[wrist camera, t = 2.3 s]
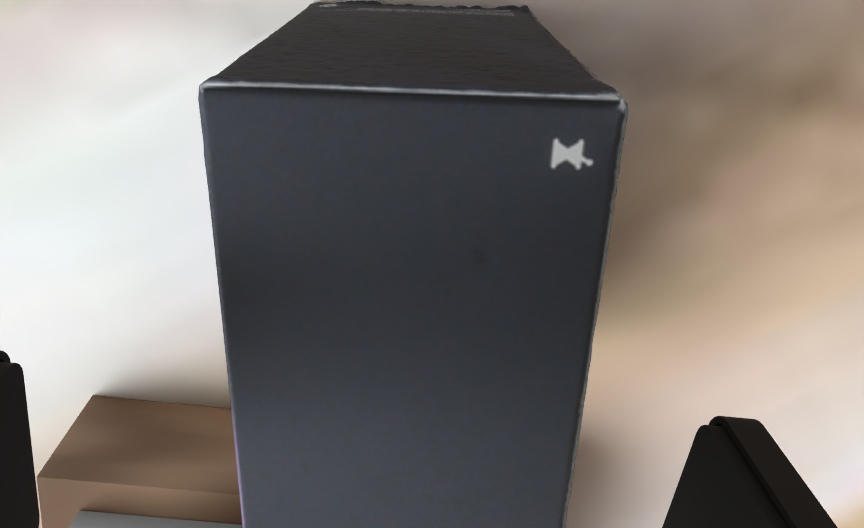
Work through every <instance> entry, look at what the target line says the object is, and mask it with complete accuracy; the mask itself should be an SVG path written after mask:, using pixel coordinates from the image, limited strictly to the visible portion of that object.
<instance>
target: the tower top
mask: <svg viewBox="0 0 864 528" xmlns="http://www.w3.org/2000/svg"><path fill="white" fill-rule="evenodd" d="M69 528H243V526H242V525H238V524H226V523H215V522H204V521H192V520H181V519H170V518H159V517H147V516H136V515H125V514H114V513H102V512H91V511H80V510H79V511H78V513H77V515H76V517H75V518H74V520H73V522H72V524H71V525H70V527H69Z"/></svg>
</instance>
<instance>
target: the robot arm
mask: <svg viewBox="0 0 864 528" xmlns="http://www.w3.org/2000/svg"><path fill="white" fill-rule="evenodd" d="M0 528H39V508H38V499H37V490H36V481H35V472H34V464H33V455H32V446H31V437H30V428H29V419H28V411H27V402H26V393H25V384H24V375H23V370H22V368H21V366H20V365H19V364H17V363H11V362H10V358H9V356H8V355H7V353H5V352H4V351H0ZM662 528H837V526H836V525H835V524H834V522H833V521H832V519H831V518H830V517H829V515H828V514H827V512H826V511H825V510H824V508H823V507H822V506H821V504H820V503H819V501H818V500H817V499H816V497H815V496H814V495H813V493H812V492H811V490H810V489H809V488H808V486H807V485H806V484H805V482H804V481H803V479H802V478H801V477H800V475H799V474H798V473H797V471H796V470H795V468H794V467H793V466H792V464H791V463H790V461H789V460H788V459H787V457H786V456H785V455H784V453H783V452H782V450H781V449H780V448H779V446H778V445H777V444H776V442H775V441H774V439H773V438H772V437H771V435H770V434H769V433H768V431H767V430H766V428H765V427H764V426H763V425H762V424H761V423H760V422H759V421H758V420H755V419H747V418H736V417H725V416H717V417H714V418H713V419H712V420H711V421H710V423H709V425H703V426H701V427H700V428H699V429H698V431H697V433H696V436H695V438H694V441H693V444H692V447H691V450H690V452H689V455H688V458H687V461H686V463H685V466H684V469H683V472H682V475H681V477H680V480H679V483H678V486H677V488H676V491H675V494H674V497H673V499H672V502H671V505H670V508H669V511H668V513H667V516H666V519H665V522H664V524H663V527H662Z"/></svg>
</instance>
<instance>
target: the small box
mask: <svg viewBox="0 0 864 528" xmlns="http://www.w3.org/2000/svg"><path fill="white" fill-rule="evenodd" d="M198 100H199V108H200V116H201V125H202V133H203V141H204V157H205V166H206V174H207V182H208V191H209V200H210V210H211V219H212V228H213V237H214V247H215V256H216V266H217V276H218V285H219V295H220V304H221V314H222V323H223V333H224V343H225V352H226V362H227V372H228V382H229V392H230V402H231V412H232V422H233V432H234V443H235V453H236V463H237V473H238V483H239V493H240V504H241V514H242V526H243V528H565V525H566V517H567V508H568V502H569V498H570V492H571V485H572V478H573V471H574V465H575V457H576V451H577V446H578V440H579V434H580V428H581V422H582V415H583V407H584V400H585V394H586V388H587V380H588V372H589V367H590V361H591V352H592V342H593V335H594V330H595V325H596V319H597V314H598V308H599V302H600V294H601V286H602V279H603V274H604V268H605V262H606V256H607V250H608V243H609V235H610V228H611V221H612V215H613V208H614V199H615V195H616V191H617V178H618V174H619V167H620V158H621V152H622V145H623V139H624V134H625V127H626V121H627V114H628V105H627V103H626V102H625V101H624V100H623V99H622V97H621V96H620V94H619V93H618V92H617V91H616V90H615V89H614V88H612V87H610V86H608V85H606V84H604V83H602V82H601V81H599V80H598V79H597V77H596V76H595V75H594V74H592V73H591V72H590V71H589V70H588V68H586V67H585V66H584V65H583V64H582V63H580V62H579V61H578V59H577V58H576V57H575V56H573V55H572V54H571V53H570V51H569V50H567V49H566V48H565V47H563V46H562V45H561V44H560V43H559V42H558V41H557V40H556V39H555V38H554V37H553V36H552V35H551V34H550V33H549V32H548V31H547V30H546V29H545V28H544V27H543V26H542V25H541V24H540V22H539V21H538V20H537V18H536V17H535V16H534V14H533V13H532V12H531V11H530V10H529V8H528V6H526V5H525V6H522V7H520V8H519V7H516V6H504V7H497V8H493V9H485V8H482V7H480V6H473V7H471V8H468V7H466V6H457V7H449V8H445V7H443V6H436V7H430V6H415V5H412V4H406V5H392V4H388V5H383V4H381V3H379V2H377V1H368V2H366V1H357V2H353V1H349V2H337V3H313V4H310V5H309V6H308V7H307V8H306V9H305V10H304V11H302V12H301V13H300V14H298V15H297V16H296V17H294V18H293V19H292V20H291V21H289V22H288V23H286V24H285V25H284V26H282V27H281V28H280V29H278V30H277V31H275V32H274V33H273V34H271V35H270V36H269V37H268V38H266V39H265V40H263V41H262V42H260V43H259V44H258V45H256V46H255V47H254V48H252V49H250V50H249V51H248V52H246V53H245V54H243V55H242V56H240V57H239V58H238V59H237V60H236V61H235V62H233V63H232V64H231V65H229V66H228V67H227V68H225V69H224V70H223V71H221V72H220V73H219V74H218V75H216V76H213V77H210V78H209V79H207V80H206V81H204V82H203V83H202V84H200V86H199V98H198Z"/></svg>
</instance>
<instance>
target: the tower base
mask: <svg viewBox="0 0 864 528" xmlns="http://www.w3.org/2000/svg"><path fill="white" fill-rule="evenodd" d="M37 483H38V492H39V500H40V509H41V518H42V527H43V528H69V527H70V525H71V524H72V522H73V520H74V518H75V517H76V515H77V513H78V511H79V510H80V511H91V512H102V513H114V514H125V515H136V516H147V517H159V518H170V519H181V520H192V521H204V522H215V523H226V524H238V525H242V514H241V504H240V493H239V483H238V473H237V463H236V453H235V443H234V432H233V422H232V412H231V409H227V408H217V407H207V406H196V405H186V404H176V403H166V402H156V401H146V400H135V399H125V398H115V397H105V396H95V395H93V396H92V397H91V399H90V400H89V401H88V403H87V404H86V406H85V407H84V409H83V410H82V412H81V413H80V415H79V416H78V418H77V419H76V420H75V422H74V423H73V425H72V426H71V428H70V429H69V431H68V432H67V434H66V435H65V436H64V438H63V439H62V441H61V442H60V444H59V445H58V447H57V448H56V450H55V451H54V453H53V454H52V455H51V457H50V458H49V460H48V461H47V463H46V464H45V466H44V467H43V469H42V470H41V471H40V473H39V474H38V476H37Z"/></svg>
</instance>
